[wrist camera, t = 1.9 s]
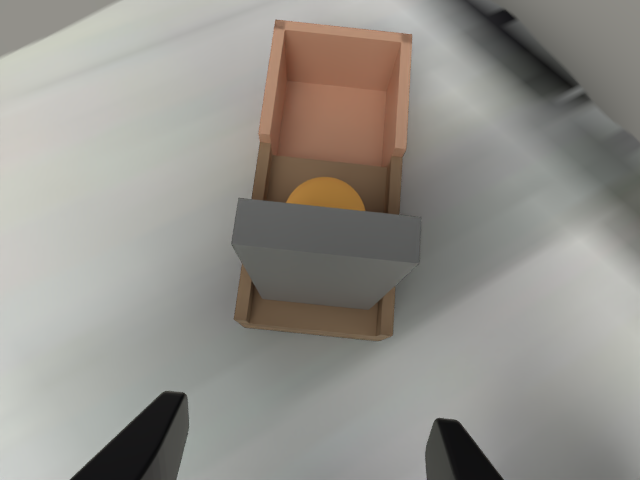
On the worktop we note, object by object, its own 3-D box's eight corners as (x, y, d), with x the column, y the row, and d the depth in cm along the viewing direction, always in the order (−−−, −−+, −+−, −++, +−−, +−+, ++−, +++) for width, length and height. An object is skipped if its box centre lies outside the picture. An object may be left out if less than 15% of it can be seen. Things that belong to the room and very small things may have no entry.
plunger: (368, 310, 20) (419, 263, 11) (262, 298, 20) (231, 243, 11) (370, 282, 20) (421, 217, 12) (265, 271, 20) (238, 197, 12)
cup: (388, 188, 25) (406, 149, 20) (266, 175, 25) (258, 133, 20) (394, 89, 26) (412, 34, 22) (279, 77, 26) (275, 19, 22)
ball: (376, 227, 21) (390, 200, 18) (327, 284, 21) (331, 266, 17) (318, 180, 22) (321, 146, 19) (268, 234, 21) (262, 208, 18)
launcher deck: (378, 341, 23) (392, 335, 19) (244, 327, 22) (233, 319, 19) (388, 188, 25) (402, 157, 21) (265, 175, 25) (259, 142, 21)
